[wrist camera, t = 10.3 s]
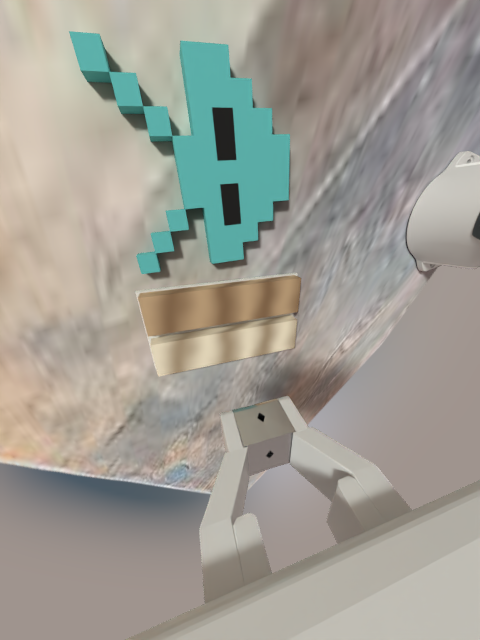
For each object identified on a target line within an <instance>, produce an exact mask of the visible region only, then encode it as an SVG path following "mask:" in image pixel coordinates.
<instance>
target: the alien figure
mask: <svg viewBox="0 0 480 640" xmlns="http://www.w3.org/2000/svg"><path fill="white" fill-rule="evenodd" d="M69 33H70V36H71V39H72V43H73V46H74V50H75V53H76V56H77V60H78V63H79V66H80V70H81V72H82V73H83V75H84V77H85V78H86V80H87V82H106V83H112V85H113V89H114V93H115V97H116V101H117V105H118V107H119V110H120V112H121V114H145V118H146V123H147V127H148V132H149V136H150V140H151V141H172V144H173V149H174V155H175V160H176V166H177V172H178V177H179V183H180V188H181V194H182V199H183V205H184V209H181V210H169V211H166V215H167V219H168V224H169V229H170V231H164V232H155V233H151V237H152V241H153V245H154V249H155V252H147V253H140V254H137V256H136V257H137V260H138V263H139V267H140V270H141V273H142V274H147V273H153V272H160V271H161V267H160V263H159V259H158V256H157V253H163V252H170V251H174V246H173V242H172V237H171V233H170V232H172V231H181V230H189V227H188V221H187V216H186V210H185V209H196V208H202V210H203V217H204V224H205V231H206V237H207V244H208V251H209V258H210V262H211V263H212V264H214V263H221V262H228V261H235V260H242V259H244V254H243V242H248V241H256V240H258V222H264V221H273V202H275V201H285V200H289V156H290V134H277V135H272V108H253V100H252V79H247V78H231V77H230V63H229V49H228V45H226V44H214V43H202V42H190V41H180V59H181V66H182V73H183V80H184V87H185V94H186V101H187V107H188V114H189V121H190V128H191V135H192V136H172V132H171V126H170V121H169V115H168V109H167V107H160V106H143V103H142V99H141V94H140V90H139V85H138V81H137V76H136V73H123V72H111V71H110V67H109V63H108V59H107V55H106V51H105V48H104V45H103V42H102V40H101V37H100V35H99V34H94V33H82V32H70V31H69Z"/></svg>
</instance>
